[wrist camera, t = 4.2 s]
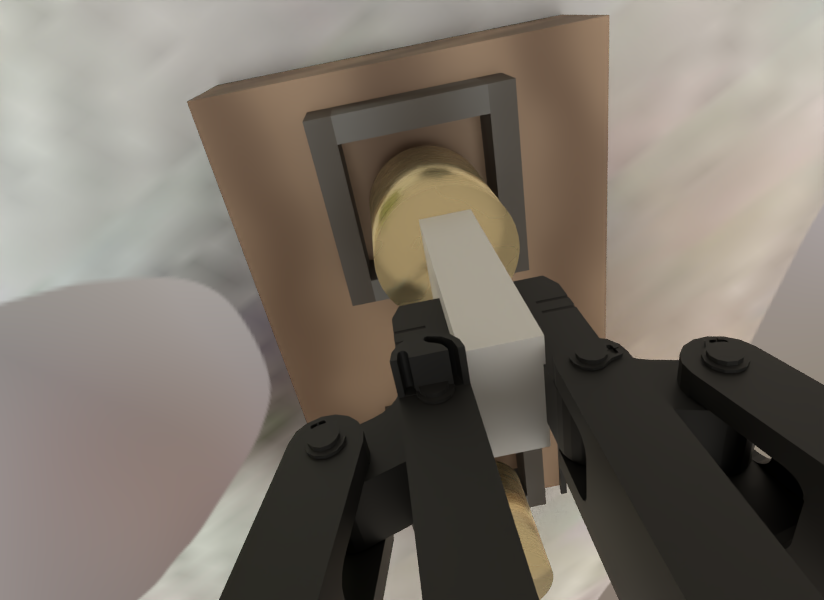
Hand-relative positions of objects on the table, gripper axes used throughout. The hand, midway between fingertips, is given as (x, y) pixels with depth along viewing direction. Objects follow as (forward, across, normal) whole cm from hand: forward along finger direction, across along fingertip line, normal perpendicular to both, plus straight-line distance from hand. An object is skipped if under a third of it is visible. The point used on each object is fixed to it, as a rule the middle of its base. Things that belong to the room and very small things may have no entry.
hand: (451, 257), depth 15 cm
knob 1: (+5, 0, 0) cm, 5 cm away
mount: (+12, 0, -8) cm, 14 cm away
